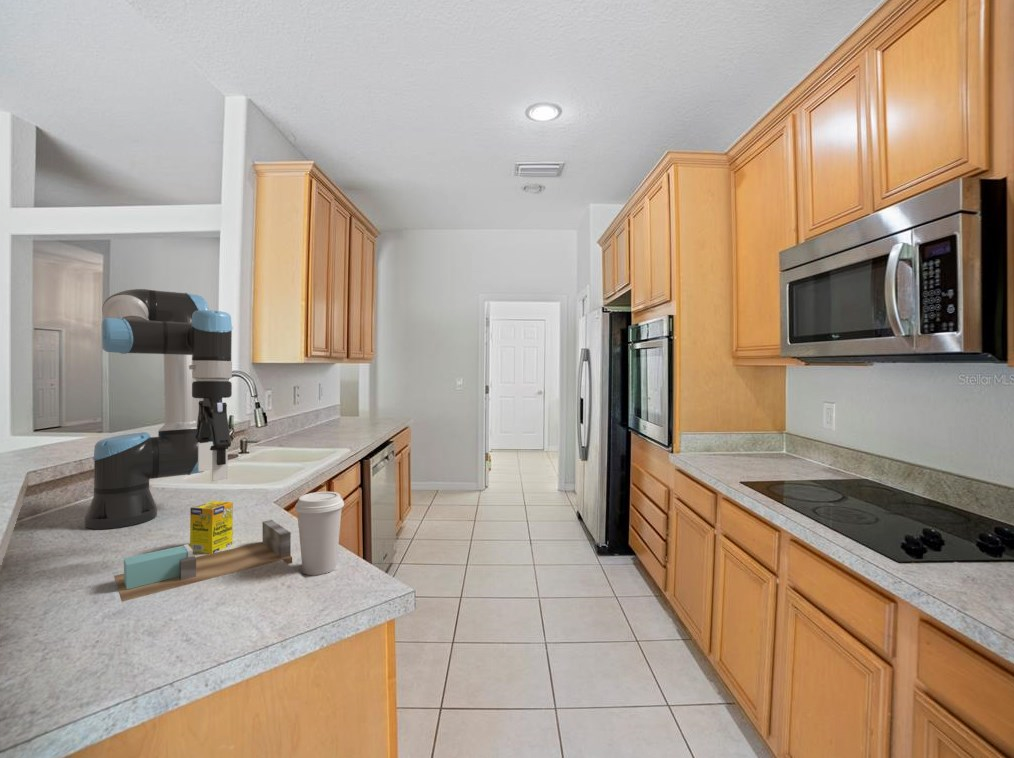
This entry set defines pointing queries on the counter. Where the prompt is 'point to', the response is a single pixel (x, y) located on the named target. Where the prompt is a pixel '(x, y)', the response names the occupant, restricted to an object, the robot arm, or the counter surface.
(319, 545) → the coffee cup
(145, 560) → the teal rectangular block
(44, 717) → the counter surface
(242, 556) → the rail base
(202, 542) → the supplement box
